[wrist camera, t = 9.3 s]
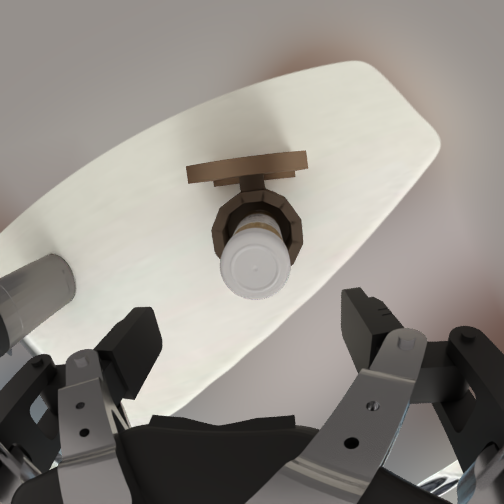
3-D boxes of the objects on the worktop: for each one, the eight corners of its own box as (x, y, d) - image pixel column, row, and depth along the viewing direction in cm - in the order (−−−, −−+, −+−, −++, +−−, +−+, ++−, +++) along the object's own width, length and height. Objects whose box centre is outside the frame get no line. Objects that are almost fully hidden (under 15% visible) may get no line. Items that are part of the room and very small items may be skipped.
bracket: (225, 257, 37) (207, 295, 25) (212, 163, 33) (184, 157, 22) (301, 249, 36) (317, 284, 24) (291, 153, 33) (304, 141, 21)
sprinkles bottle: (241, 250, 31) (223, 304, 18) (236, 210, 30) (213, 236, 17) (282, 247, 31) (293, 299, 18) (278, 206, 30) (289, 229, 17)
